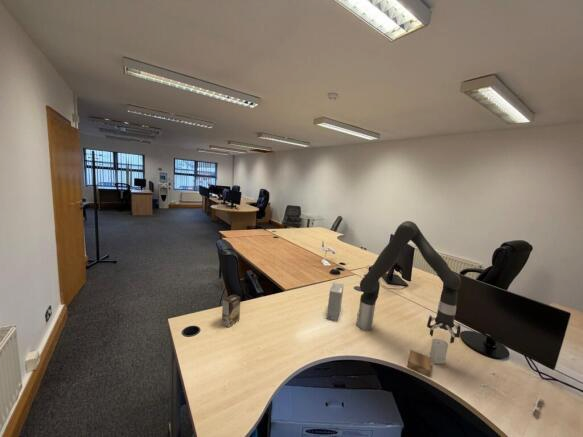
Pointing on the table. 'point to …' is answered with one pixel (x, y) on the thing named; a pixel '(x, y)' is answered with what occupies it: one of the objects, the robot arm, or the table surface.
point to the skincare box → (438, 351)
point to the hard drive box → (335, 301)
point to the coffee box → (231, 310)
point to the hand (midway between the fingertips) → (441, 339)
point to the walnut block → (419, 363)
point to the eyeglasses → (513, 399)
